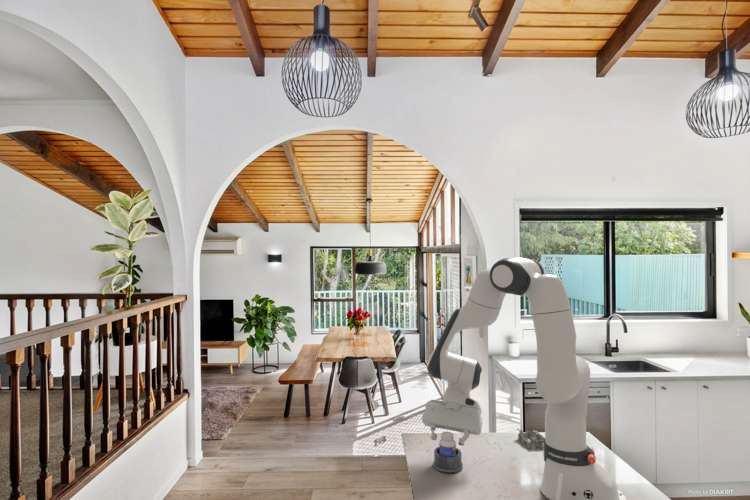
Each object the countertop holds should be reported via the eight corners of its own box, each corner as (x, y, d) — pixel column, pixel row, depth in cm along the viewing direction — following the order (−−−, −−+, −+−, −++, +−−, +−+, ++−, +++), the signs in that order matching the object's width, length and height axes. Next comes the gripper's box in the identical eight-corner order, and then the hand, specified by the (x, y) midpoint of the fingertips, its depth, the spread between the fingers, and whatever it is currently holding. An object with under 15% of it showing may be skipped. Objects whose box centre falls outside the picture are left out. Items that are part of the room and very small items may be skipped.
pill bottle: (455, 468, 141) (455, 437, 141) (438, 466, 142) (438, 436, 142) (456, 460, 146) (456, 431, 147) (440, 459, 148) (439, 430, 148)
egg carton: (516, 438, 167) (515, 427, 167) (535, 437, 168) (534, 426, 168) (528, 450, 156) (527, 438, 157) (548, 449, 157) (548, 437, 157)
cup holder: (466, 463, 146) (466, 448, 146) (457, 476, 138) (457, 460, 138) (439, 457, 151) (438, 443, 151) (428, 469, 142) (428, 454, 143)
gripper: (425, 394, 156) (414, 431, 147) (482, 402, 146) (475, 443, 137) (430, 403, 160) (420, 440, 151) (486, 412, 150) (479, 452, 141)
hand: (446, 441), depth 144 cm, fingers open, 8 cm apart
